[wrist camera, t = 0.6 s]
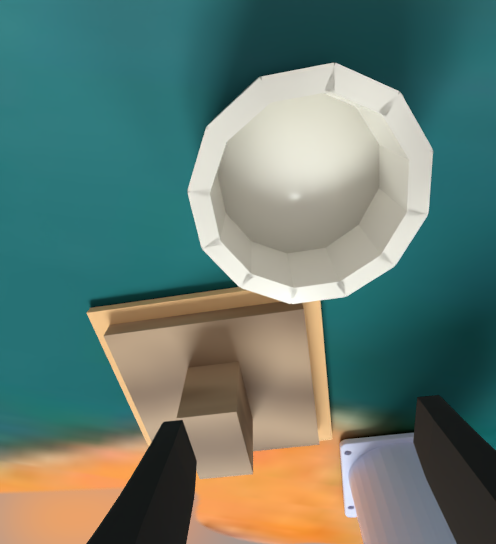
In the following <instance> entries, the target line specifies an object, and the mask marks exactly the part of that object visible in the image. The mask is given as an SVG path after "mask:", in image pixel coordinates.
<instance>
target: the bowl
mask: <svg viewBox="0 0 496 544" xmlns="http://www.w3.org/2000/svg"><path fill="white" fill-rule="evenodd" d="M432 150H433V149H432V147H431V146H430V144H429V142H428V140H427V138H426V137H425V135H424V133H423V131H422V130H421V128H420V126H419V124H418V122H417V121H416V119H415V117H414V115H413V114H412V112H411V110H410V108H409V106H408V105H407V103H406V101H405V99H404V97H403V96H402V94H401V92H399V91H398V90H395V89H393V88H391V87H389V86H386V85H384V84H382V83H380V82H378V81H375V80H373V79H371V78H369V77H366V76H364V75H362V74H360V73H357V72H355V71H353V70H351V69H349V68H346V67H344V66H342V65H340V64H337V63H329V64H323V65H318V66H313V67H308V68H303V69H298V70H292V71H287V72H282V73H277V74H272V75H266V76H261V77H258V78H257V79H256V80H255V81H254V82H253V83H252V84H250V85H249V86H248V87H247V88H246V89H245V90H244V91H243V92H242V93H241V94H240V95H239V96H238V97H237V98H235V99H234V100H233V101H232V102H231V103H230V104H229V105H228V106H227V107H226V108H225V109H224V110H223V111H222V112H220V113H219V114H218V115H217V116H216V117H215V118H214V119H213V120H212V122H211V123H210V124H209V125H208V126H207V127H206V129H205V133H204V136H203V140H202V143H201V146H200V150H199V153H198V157H197V160H196V163H195V167H194V170H193V174H192V177H191V180H190V184H189V187H188V196H189V200H190V204H191V208H192V212H193V216H194V220H195V224H196V228H197V232H198V235H199V239H200V243H201V247H202V248H203V250H204V251H205V252H206V253H207V254H208V255H209V257H210V258H211V259H212V260H213V261H214V262H215V263H216V264H217V265H218V266H219V267H220V268H221V269H222V270H223V271H224V272H225V273H226V274H227V275H228V276H229V277H230V278H231V279H232V280H233V281H234V282H235V283H236V284H237V285H238V286H239V287H241V288H242V289H245V290H248V291H251V292H255V293H258V294H261V295H264V296H267V297H270V298H273V299H276V300H279V301H282V302H286V303H289V304H291V303H292V304H297V303H304V302H311V301H319V300H326V299H334V298H341V297H345V295H346V296H348V295H350V294H351V293H353V292H354V291H356V290H358V289H359V288H361V287H362V286H364V285H366V284H367V283H369V282H370V281H372V280H373V279H375V278H377V277H378V276H380V275H381V274H383V273H385V272H386V271H388V270H389V269H391V268H393V267H394V265H396V264H397V262H398V261H399V259H400V258H401V256H402V255H403V253H404V251H405V250H406V248H407V247H408V245H409V244H410V242H411V241H412V239H413V237H414V236H415V234H416V233H417V231H418V230H419V228H420V226H421V225H422V223H423V222H424V220H425V219H426V217H427V216H428V213H429V199H430V186H431V172H432V158H433V151H432Z"/></svg>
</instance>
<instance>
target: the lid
mask: <svg viewBox="0 0 496 544" xmlns="http://www.w3.org/2000/svg"><path fill="white" fill-rule="evenodd" d="M104 338H105V340H106V343H107V345H108V347H109V349H110V351H111V354H112V356H113V358H114V360H115V362H116V365H117V367H118V369H119V371H120V373H121V376H122V378H123V380H124V382H125V384H126V387H127V389H128V391H129V393H130V395H131V398H132V400H133V402H134V404H135V406H136V409H137V411H138V413H139V415H140V417H141V420H142V422H143V424H144V426H145V428H146V431H147V433H148V435H149V437H150V439H151V442H152V441H153V439H154V437H155V435H156V433H157V432H158V430H159V428H160V426H161V424H162V423H163V422H166V421H176V420H183V423H184V426H185V428H186V431H187V434H188V437H189V440H190V443H191V446H192V448H193V451H194V454H195V457H196V460H197V466H196V470H197V473H198V476H199V478H200V479H206V478H217V477H227V476H238V475H249V474H253V451H260V450H270V449H280V448H290V447H300V446H310V445H319V436H318V428H317V419H316V410H315V402H314V393H313V384H312V376H311V367H310V358H309V350H308V341H307V332H306V324H305V315H304V308H303V303H297V304H292V303H291V304H289V303H286V302H282V301H281V302H274V303H266V304H259V305H252V306H244V307H237V308H230V309H222V310H215V311H208V312H200V313H193V314H186V315H178V316H171V317H164V318H156V319H149V320H142V321H134V322H127V323H120V324H112V325H109V327H108V329H107V331H106V332H105V334H104Z"/></svg>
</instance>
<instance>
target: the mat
mask: <svg viewBox="0 0 496 544" xmlns="http://www.w3.org/2000/svg"><path fill="white" fill-rule="evenodd" d="M274 302H281V301H279V300H276V299H273V298H270V297H267V296H264V295H261V294H258V293H255V292H251V291H248V290H245V289H242V288H241V287H235V288H228V289H221V290H214V291H207V292H199V293H192V294H185V295H178V296H171V297H164V298H157V299H150V300H143V301H136V302H129V303H122V304H115V305H107V306H100V307H93V308H90V309H89V310H88V312H87V315H88V317H89V319H90V321H91V323H92V325H93V328H94V330H95V332H96V334H97V336H98V338H99V341H100V343H101V345H102V347H103V349H104V351H105V353H106V356H107V358H108V360H109V362H110V364H111V366H112V369H113V371H114V373H115V375H116V377H117V379H118V381H119V384H120V386H121V388H122V390H123V392H124V394H125V397H126V399H127V401H128V403H129V405H130V407H131V409H132V412H133V414H134V416H135V418H136V420H137V422H138V424H139V427H140V429H141V431H142V433H143V435H144V437H145V440H146V442H147V444H148V446H150V444H151V439H150V437H149V435H148V433H147V431H146V428H145V426H144V424H143V422H142V420H141V417H140V415H139V413H138V411H137V409H136V406H135V404H134V402H133V400H132V398H131V395H130V393H129V391H128V389H127V387H126V384H125V382H124V380H123V378H122V376H121V373H120V371H119V369H118V367H117V365H116V362H115V360H114V358H113V356H112V354H111V351H110V349H109V347H108V345H107V343H106V340H105V338H104V334H105V332H106V331H107V329H108V327H109V325H112V324H120V323H127V322H134V321H142V320H149V319H156V318H164V317H171V316H178V315H186V314H193V313H200V312H208V311H215V310H222V309H230V308H237V307H244V306H252V305H259V304H266V303H274ZM303 308H304V315H305V324H306V332H307V341H308V350H309V358H310V367H311V376H312V384H313V393H314V402H315V410H316V419H317V428H318V436H319V441H322V440H332V429H331V417H330V406H329V394H328V383H327V372H326V360H325V349H324V337H323V326H322V315H321V303H320V300H319V301H311V302H304V303H303Z"/></svg>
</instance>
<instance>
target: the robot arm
mask: <svg viewBox="0 0 496 544" xmlns="http://www.w3.org/2000/svg"><path fill="white" fill-rule="evenodd" d="M340 457H341V471H342V484H343V498H344V511H345V515H346V516H347V517H357V518H358V522H359V526H360V530H361V534H362V539H363V543H364V544H496V450H495V449H494V448H492V447H491V446H490V445H489V444H488V443H487V442H486V441H485V440H484V439H483V438H482V437H481V436H480V435H479V434H478V433H477V432H476V431H475V430H474V429H473V428H472V427H471V426H470V425H469V424H468V423H467V422H466V421H465V420H464V419H462V418H461V417H460V416H459V414H458V413H457V412H456V411H455V410H454V409H453V408H452V407H451V406H450V405H449V404H448V403H447V402H446V401H445V400H444V399H443V398H442V397H440V396H439V395H435V396H425V397H417V407H416V418H415V428H414V433H404V434H394V435H384V436H374V437H364V438H354V439H345V440H343V441H341V442H340ZM196 466H197V460H196V457H195V454H194V451H193V448H192V446H191V443H190V440H189V437H188V434H187V431H186V428H185V426H184V423H183V420H176V421H166V422H163V423H162V424H161V426H160V428H159V430H158V432H157V433H156V435H155V437H154V439H153V441H152V442H151V444H150V446H149V448H148V449H147V451H146V453H145V455H144V456H143V458H142V460H141V461H140V463H139V465H138V466H137V468H136V470H135V471H134V473H133V475H132V476H131V478H130V480H129V481H128V483H127V484H126V486H125V488H124V489H123V491H122V492H121V494H120V496H119V497H118V499H117V500H116V502H115V503H114V505H113V506H112V508H111V509H110V511H109V512H108V514H107V515H106V517H105V518H104V519H103V521H102V522H101V524H100V525H99V527H98V528H97V530H96V531H95V533H94V534H93V535H92V537H91V538H90V539H89V541H88V542H87V544H186V541H187V535H188V530H189V524H190V518H191V513H192V507H193V501H194V493H195V481H196Z"/></svg>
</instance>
